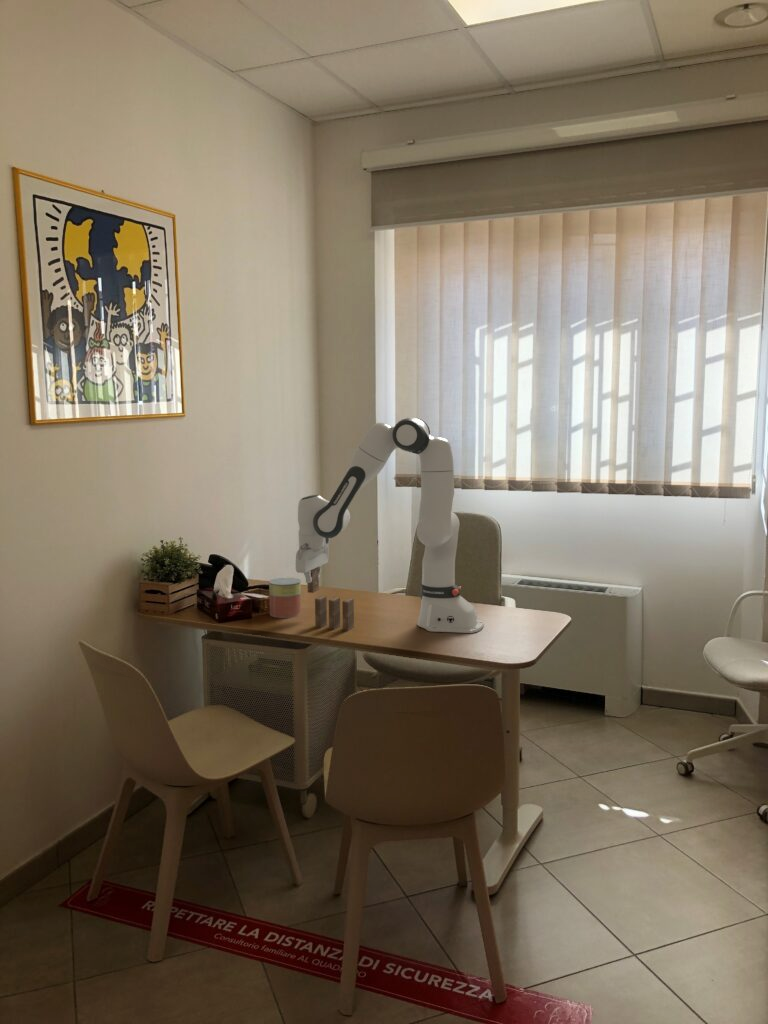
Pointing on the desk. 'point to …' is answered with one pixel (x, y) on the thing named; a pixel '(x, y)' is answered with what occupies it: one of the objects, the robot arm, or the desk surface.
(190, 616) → the desk surface
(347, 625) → the domino
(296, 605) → the canned food
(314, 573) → the domino
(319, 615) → the domino
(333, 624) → the domino
